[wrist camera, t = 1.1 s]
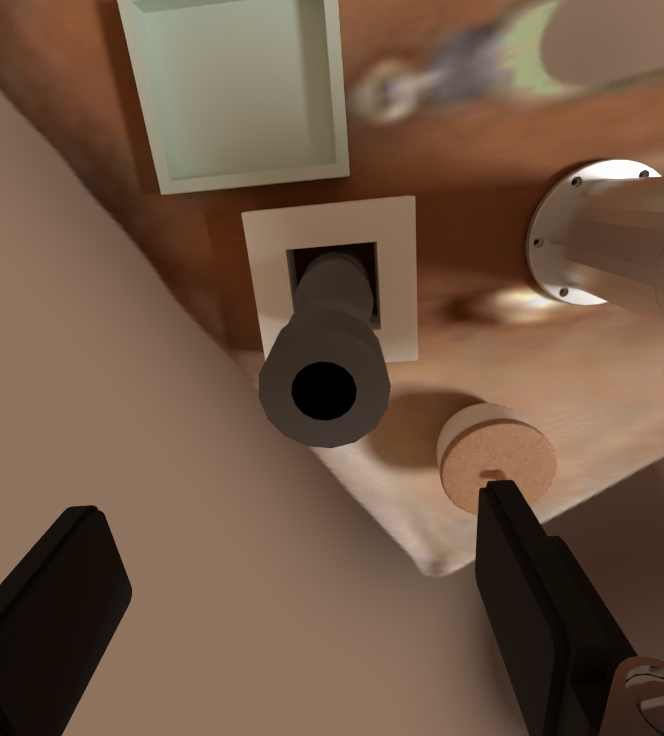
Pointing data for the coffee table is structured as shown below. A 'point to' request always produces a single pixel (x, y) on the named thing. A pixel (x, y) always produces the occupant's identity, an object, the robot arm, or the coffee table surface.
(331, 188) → the coffee table surface
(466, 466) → the lidded jar
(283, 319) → the socket block
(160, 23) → the parts tray
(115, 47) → the coffee table surface
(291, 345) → the candle holder
